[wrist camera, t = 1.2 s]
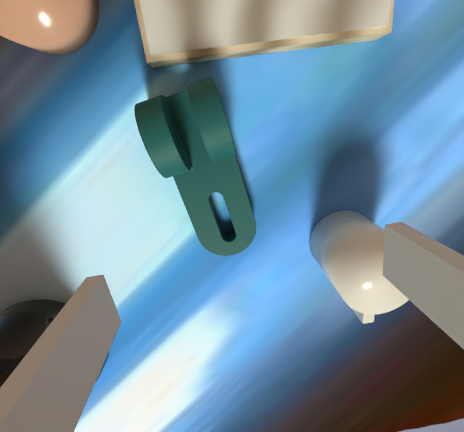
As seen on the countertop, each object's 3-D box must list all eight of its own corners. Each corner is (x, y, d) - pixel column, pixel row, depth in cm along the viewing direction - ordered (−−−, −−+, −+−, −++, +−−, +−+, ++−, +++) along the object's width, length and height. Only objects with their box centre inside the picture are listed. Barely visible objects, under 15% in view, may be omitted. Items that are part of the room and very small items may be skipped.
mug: (310, 288, 36) (339, 340, 28) (308, 214, 32) (342, 249, 24) (368, 279, 36) (414, 329, 28) (373, 205, 32) (429, 236, 24)
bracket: (149, 105, 27) (125, 101, 20) (212, 84, 27) (211, 71, 19) (208, 253, 33) (206, 291, 26) (259, 237, 33) (272, 271, 26)
